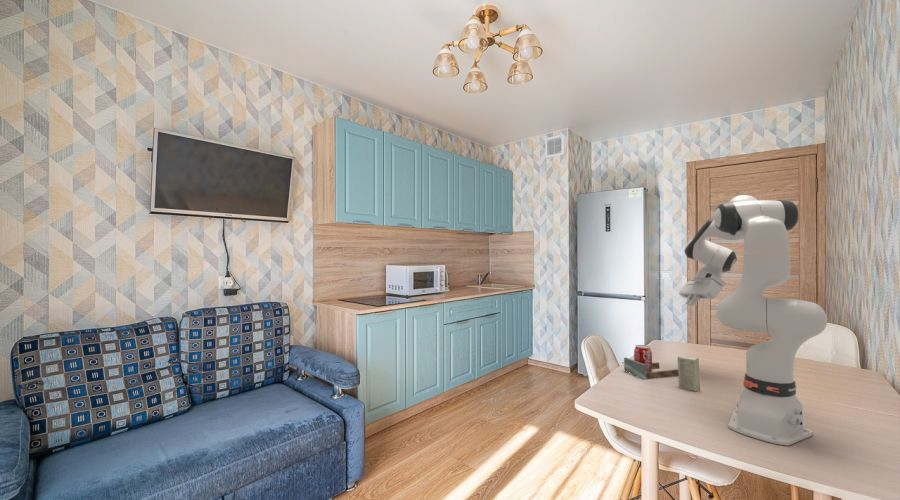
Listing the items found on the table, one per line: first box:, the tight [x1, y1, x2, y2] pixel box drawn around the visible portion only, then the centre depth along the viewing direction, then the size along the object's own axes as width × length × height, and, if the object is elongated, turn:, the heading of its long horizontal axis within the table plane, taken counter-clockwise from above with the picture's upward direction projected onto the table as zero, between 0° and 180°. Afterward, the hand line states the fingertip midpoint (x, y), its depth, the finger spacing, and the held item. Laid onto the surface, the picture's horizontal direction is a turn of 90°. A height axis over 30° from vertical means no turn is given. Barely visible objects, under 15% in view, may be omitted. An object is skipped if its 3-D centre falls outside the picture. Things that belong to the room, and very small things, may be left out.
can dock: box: [623, 357, 679, 380], centre depth 163 cm, size 18×12×6 cm, turn 104°
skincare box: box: [677, 354, 701, 392], centre depth 144 cm, size 6×4×12 cm
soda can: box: [633, 344, 653, 372], centre depth 163 cm, size 7×7×12 cm
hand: (689, 304), depth 161 cm, fingers closed
